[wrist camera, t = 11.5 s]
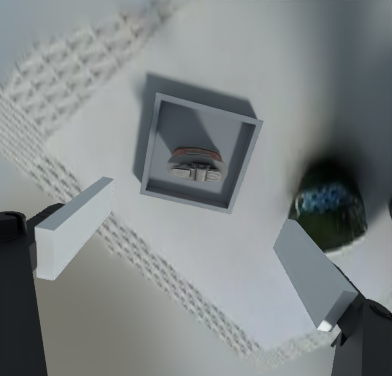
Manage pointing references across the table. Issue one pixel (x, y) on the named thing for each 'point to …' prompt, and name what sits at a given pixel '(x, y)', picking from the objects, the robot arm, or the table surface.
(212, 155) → the lighter
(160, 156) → the tray
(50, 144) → the table surface
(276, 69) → the table surface
